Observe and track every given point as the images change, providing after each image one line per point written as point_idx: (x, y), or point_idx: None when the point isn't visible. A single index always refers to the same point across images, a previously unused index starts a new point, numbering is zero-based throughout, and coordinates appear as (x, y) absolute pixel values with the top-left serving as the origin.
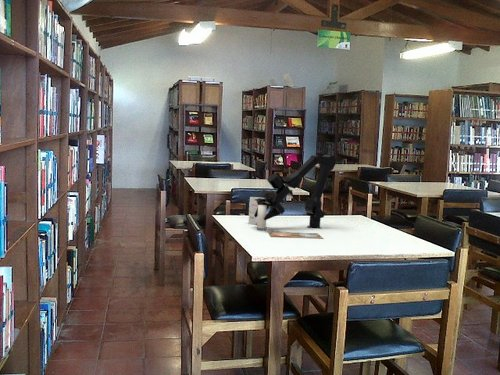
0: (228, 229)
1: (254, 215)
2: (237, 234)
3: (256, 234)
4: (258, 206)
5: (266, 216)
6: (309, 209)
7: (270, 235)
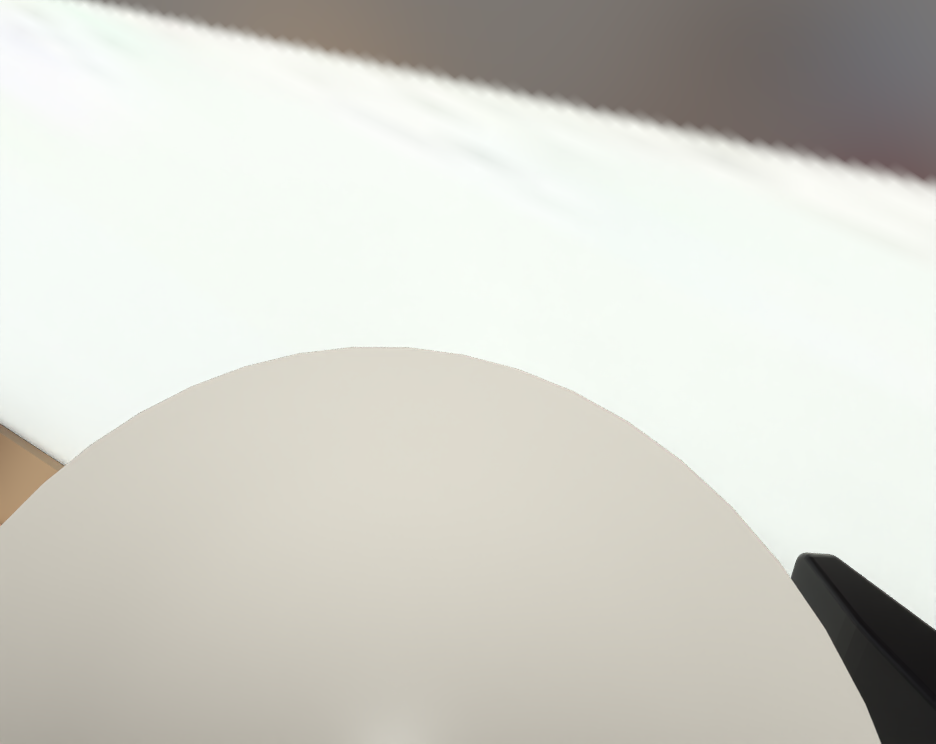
0: (800, 161)
1: (816, 556)
2: (414, 124)
3: None
4: (438, 376)
5: None
6: None
7: (14, 458)
